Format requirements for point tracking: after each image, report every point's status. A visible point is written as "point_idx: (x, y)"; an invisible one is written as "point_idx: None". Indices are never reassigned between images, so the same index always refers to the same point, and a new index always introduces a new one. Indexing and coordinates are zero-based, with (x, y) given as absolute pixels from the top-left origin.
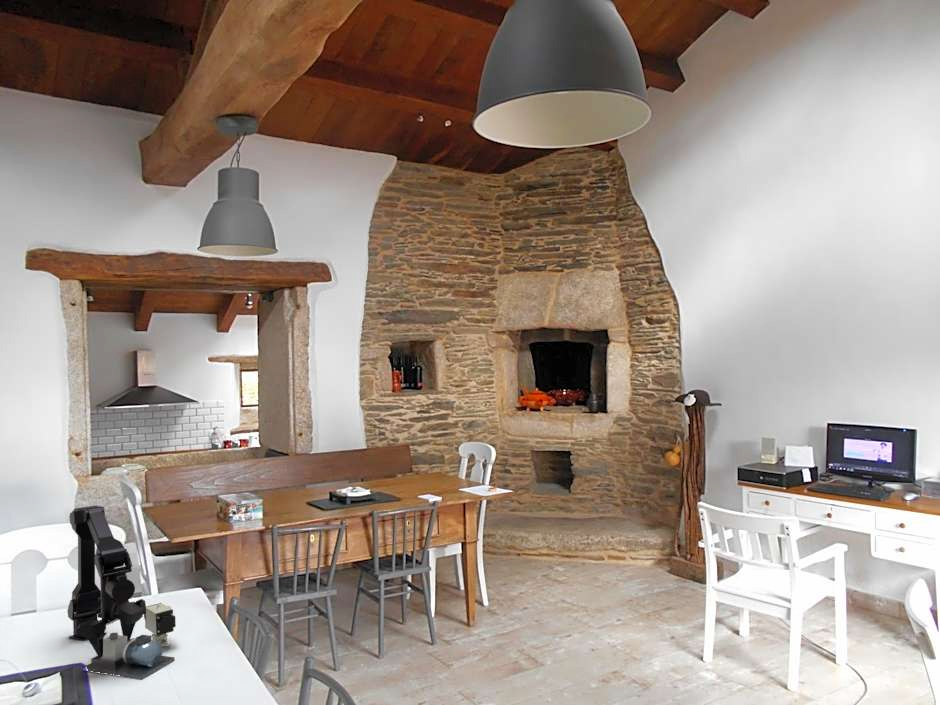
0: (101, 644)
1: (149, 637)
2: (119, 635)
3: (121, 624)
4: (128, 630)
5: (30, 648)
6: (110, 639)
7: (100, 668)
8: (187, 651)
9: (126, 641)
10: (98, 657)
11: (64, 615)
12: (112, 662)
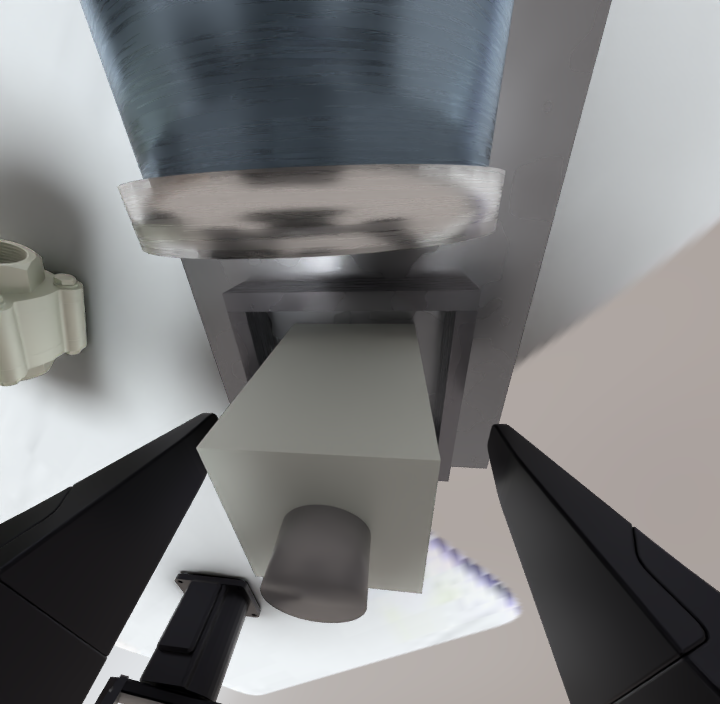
0: (629, 548)
1: None
2: (239, 525)
3: (100, 653)
4: (107, 521)
5: (352, 639)
6: (369, 540)
7: (491, 370)
8: None
9: (247, 401)
10: None
11: None
12: (474, 316)
